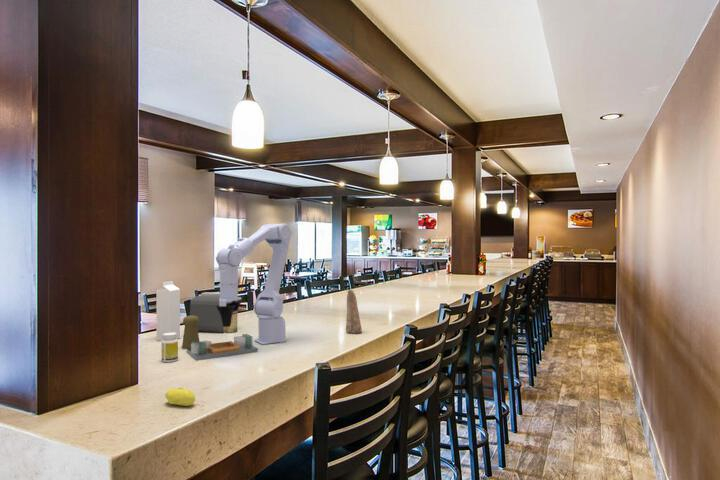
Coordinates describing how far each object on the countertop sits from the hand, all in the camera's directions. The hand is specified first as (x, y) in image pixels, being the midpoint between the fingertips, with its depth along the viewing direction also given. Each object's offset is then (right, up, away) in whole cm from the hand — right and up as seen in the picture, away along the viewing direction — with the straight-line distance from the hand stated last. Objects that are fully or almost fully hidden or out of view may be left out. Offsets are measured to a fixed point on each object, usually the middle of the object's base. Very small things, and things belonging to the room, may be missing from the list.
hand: (229, 325), depth 154 cm
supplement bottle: (-16, -10, -10) cm, 21 cm away
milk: (-29, -10, +21) cm, 37 cm away
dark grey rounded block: (-18, -10, +38) cm, 43 cm away
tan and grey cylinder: (0, -2, 0) cm, 2 cm away
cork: (-16, -9, +8) cm, 20 cm away
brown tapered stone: (+41, -9, +33) cm, 53 cm away
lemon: (+2, -10, -48) cm, 49 cm away
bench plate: (-3, -9, +1) cm, 10 cm away
